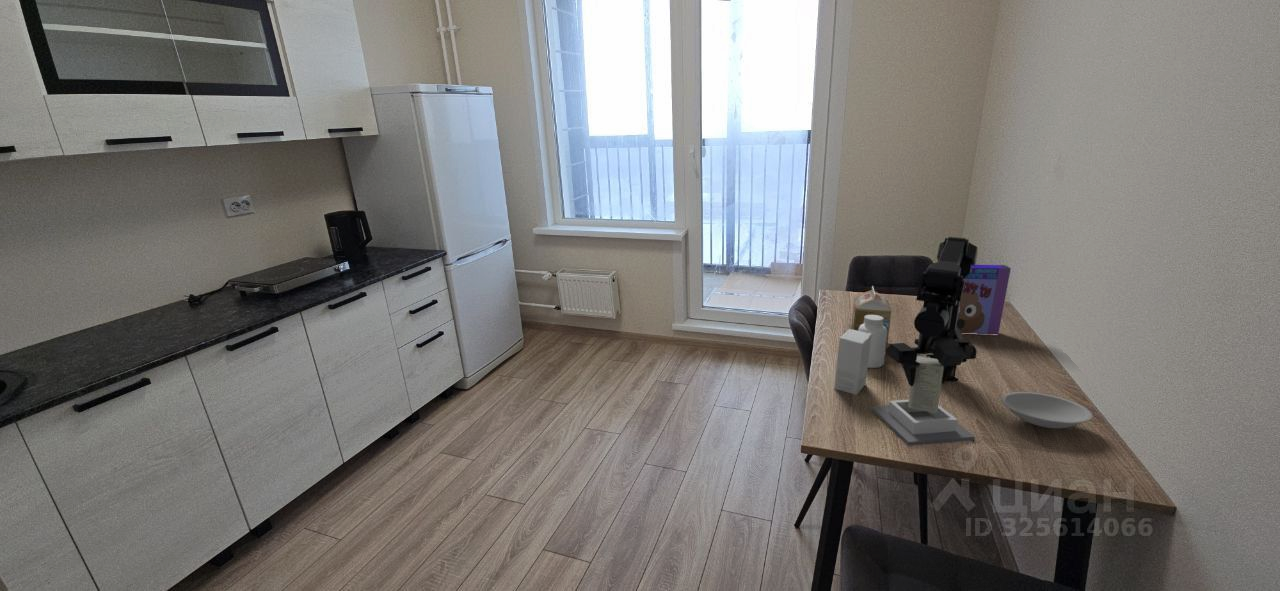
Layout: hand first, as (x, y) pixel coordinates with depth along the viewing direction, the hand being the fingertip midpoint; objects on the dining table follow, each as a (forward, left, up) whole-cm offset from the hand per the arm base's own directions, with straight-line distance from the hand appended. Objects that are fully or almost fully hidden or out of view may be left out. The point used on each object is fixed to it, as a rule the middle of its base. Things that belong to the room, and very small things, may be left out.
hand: (926, 384), depth 123 cm
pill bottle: (-6, -35, -11) cm, 37 cm away
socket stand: (0, 0, -11) cm, 11 cm away
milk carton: (-13, -49, -11) cm, 52 cm away
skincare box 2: (0, 0, -6) cm, 6 cm away
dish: (-28, +4, -11) cm, 30 cm away
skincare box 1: (+7, -21, -11) cm, 25 cm away
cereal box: (-52, -54, -11) cm, 76 cm away
